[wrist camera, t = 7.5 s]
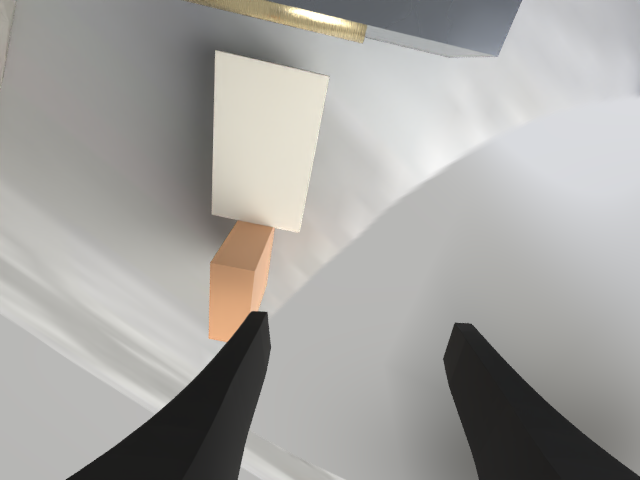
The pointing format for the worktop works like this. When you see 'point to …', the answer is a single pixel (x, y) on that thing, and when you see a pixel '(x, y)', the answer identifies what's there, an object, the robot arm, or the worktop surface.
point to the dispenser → (393, 21)
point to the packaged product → (5, 31)
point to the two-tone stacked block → (257, 173)
